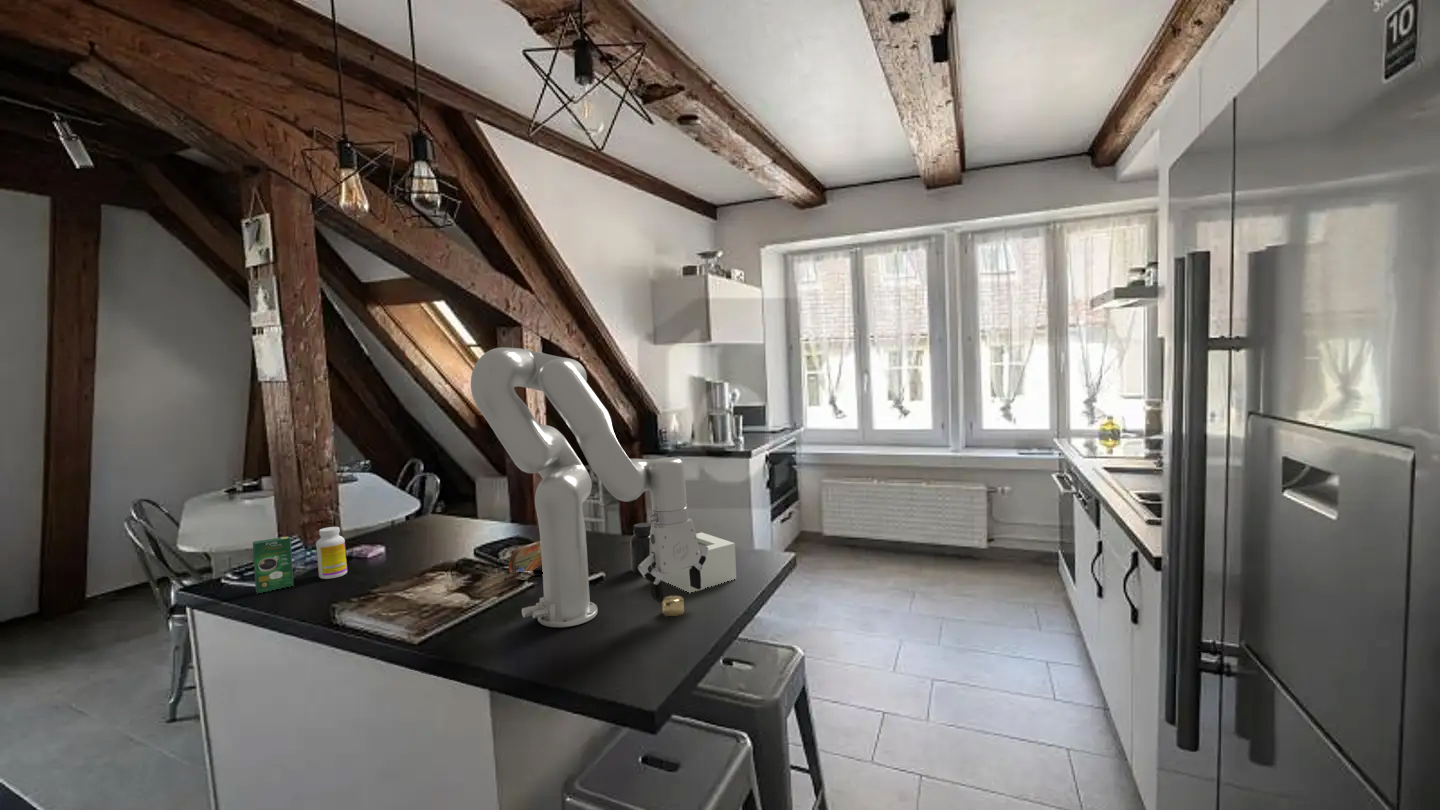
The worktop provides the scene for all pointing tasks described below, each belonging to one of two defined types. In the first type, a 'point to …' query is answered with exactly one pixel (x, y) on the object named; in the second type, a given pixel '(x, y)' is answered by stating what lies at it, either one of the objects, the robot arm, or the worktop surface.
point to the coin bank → (708, 565)
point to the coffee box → (272, 564)
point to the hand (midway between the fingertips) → (677, 594)
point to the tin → (526, 558)
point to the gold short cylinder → (673, 605)
